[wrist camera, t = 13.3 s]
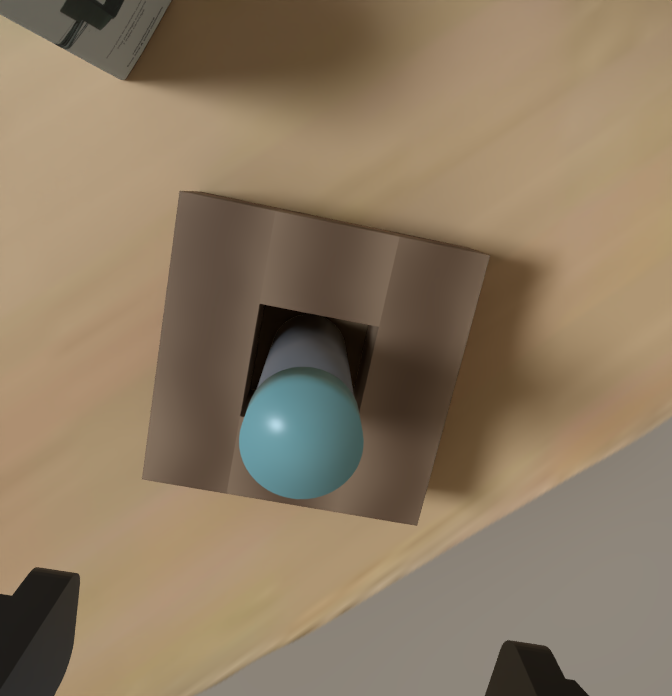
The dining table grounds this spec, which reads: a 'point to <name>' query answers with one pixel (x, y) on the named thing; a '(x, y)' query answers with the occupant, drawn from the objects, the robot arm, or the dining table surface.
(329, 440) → the peg
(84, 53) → the ink box
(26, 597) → the robot arm
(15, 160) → the dining table surface
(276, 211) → the socket
